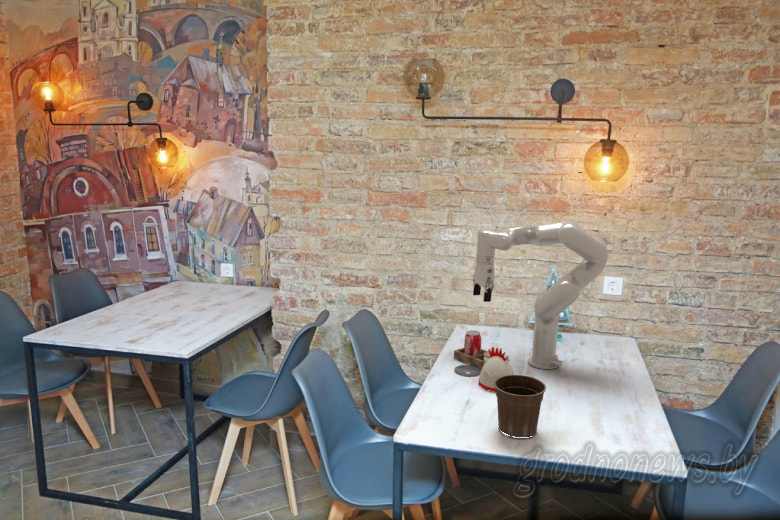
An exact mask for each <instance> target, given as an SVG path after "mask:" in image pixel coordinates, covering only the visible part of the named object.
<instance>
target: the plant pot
mask: <svg viewBox="0 0 780 520" xmlns="http://www.w3.org/2000/svg"><path fill="white" fill-rule="evenodd" d="M494 386H495V388H496V392H495V397H496V403H497V424H498V426H499V427H498V430H499V429H500V430H501V431H502V432H504V433H506V434H508V435H510V436H509V437H511V436H515V437H530V436H533V435H534V436H535V435H536V434H537V431H538V425H539V424H538V423H539V418H540V412H541V406H542V402H543V400H544V394H545V392H546V389H547V385H546V383H544V382H543V381H541V380H540V379H537V378H535V377H532V376H528V375H523V374H514V375H506V376H502V377H499V378H497V379H496V380H495V381H494ZM534 436H533V437H534Z"/></svg>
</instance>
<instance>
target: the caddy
mask: <svg viewBox="0 0 780 520" xmlns="http://www.w3.org/2000/svg"><path fill="white" fill-rule="evenodd" d="M484 352H489V351H488V350H486V349H483V348H481V354H480V355H477V356H474V357H472V356H470V355H467V354H465V353H464V347H461V348H458V349H454V350H453V359H454V360H456V361H459V362H461V363H464V364H465V365H472V366H476V367H478V368H480V369H481V370H482V368H483V366H484V363H486V362H485V361H484ZM507 361H508V362H509V363H510V359H509V358H508V359H507Z"/></svg>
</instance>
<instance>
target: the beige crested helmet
mask: <svg viewBox="0 0 780 520" xmlns="http://www.w3.org/2000/svg"><path fill="white" fill-rule="evenodd" d="M487 351H488V352H489V354H490V357H491V358H490V359H488V360H487V361H486V363H484V366H483V368H482V370H481V373H480V375H478V386H479V385H480V386H481V387H482V388H481V387H480V386H479V387H480V388H481V389H483V388H484V389H483V390H485V389H486V391H487V390H490V391H489V392H491V391H495V392H494V393H496V388H495V386H494V381H495V380H496V379H497V378H499V377H502V376H506V375H515V373H514V369H513V367H512V365H511V364H510V361H509V362H508V361H507V359H509V355H507V356H506V351H504V352H503V351H502V348H499V347H496V348H495V347H494V346H492V347H491V349H490V348H488V350H487ZM505 356H506V357H505Z"/></svg>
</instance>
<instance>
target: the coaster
mask: <svg viewBox="0 0 780 520" xmlns="http://www.w3.org/2000/svg"><path fill="white" fill-rule="evenodd" d="M453 370H454V371H453V372H454V373H455V374H456V375H459V376H463V377H467V376H468V378H469V377H470V378H471V376H473V377H479V376H480V373H481V369H480V368H478V367H476V366H472V365H468V364H461V365H458V366H455V367H454V369H453Z"/></svg>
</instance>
